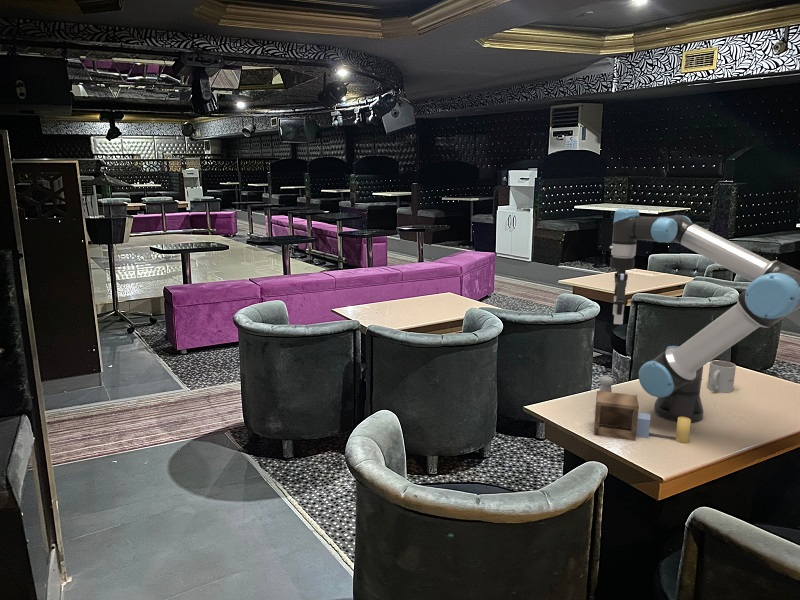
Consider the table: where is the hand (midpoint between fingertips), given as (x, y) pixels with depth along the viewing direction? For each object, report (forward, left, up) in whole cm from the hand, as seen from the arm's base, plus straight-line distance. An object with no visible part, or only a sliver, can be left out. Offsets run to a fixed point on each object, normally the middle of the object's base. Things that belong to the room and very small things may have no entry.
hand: (617, 319), depth 199 cm
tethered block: (-14, +20, -32) cm, 40 cm away
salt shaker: (+2, +6, -32) cm, 33 cm away
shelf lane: (-1, +20, -32) cm, 37 cm away
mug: (-39, -32, -32) cm, 60 cm away
